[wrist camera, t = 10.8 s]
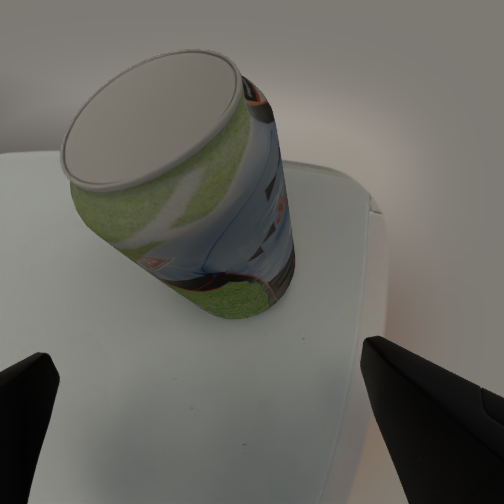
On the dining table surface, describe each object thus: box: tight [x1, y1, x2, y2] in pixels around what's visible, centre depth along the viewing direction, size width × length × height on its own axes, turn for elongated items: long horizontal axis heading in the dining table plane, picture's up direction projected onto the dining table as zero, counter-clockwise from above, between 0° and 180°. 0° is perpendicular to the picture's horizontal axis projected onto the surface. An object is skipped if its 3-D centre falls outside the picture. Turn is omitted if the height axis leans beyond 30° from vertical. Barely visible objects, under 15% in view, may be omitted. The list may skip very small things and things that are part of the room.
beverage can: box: [60, 49, 295, 319], centre depth 11 cm, size 6×7×12 cm
